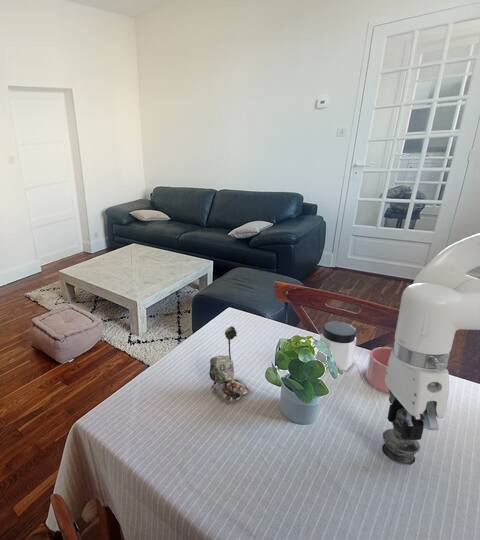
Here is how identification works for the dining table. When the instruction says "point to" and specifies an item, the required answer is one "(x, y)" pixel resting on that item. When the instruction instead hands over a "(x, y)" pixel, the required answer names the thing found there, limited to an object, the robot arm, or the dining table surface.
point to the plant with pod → (226, 372)
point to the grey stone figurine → (399, 442)
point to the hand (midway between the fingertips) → (403, 428)
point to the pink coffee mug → (378, 367)
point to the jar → (339, 343)
